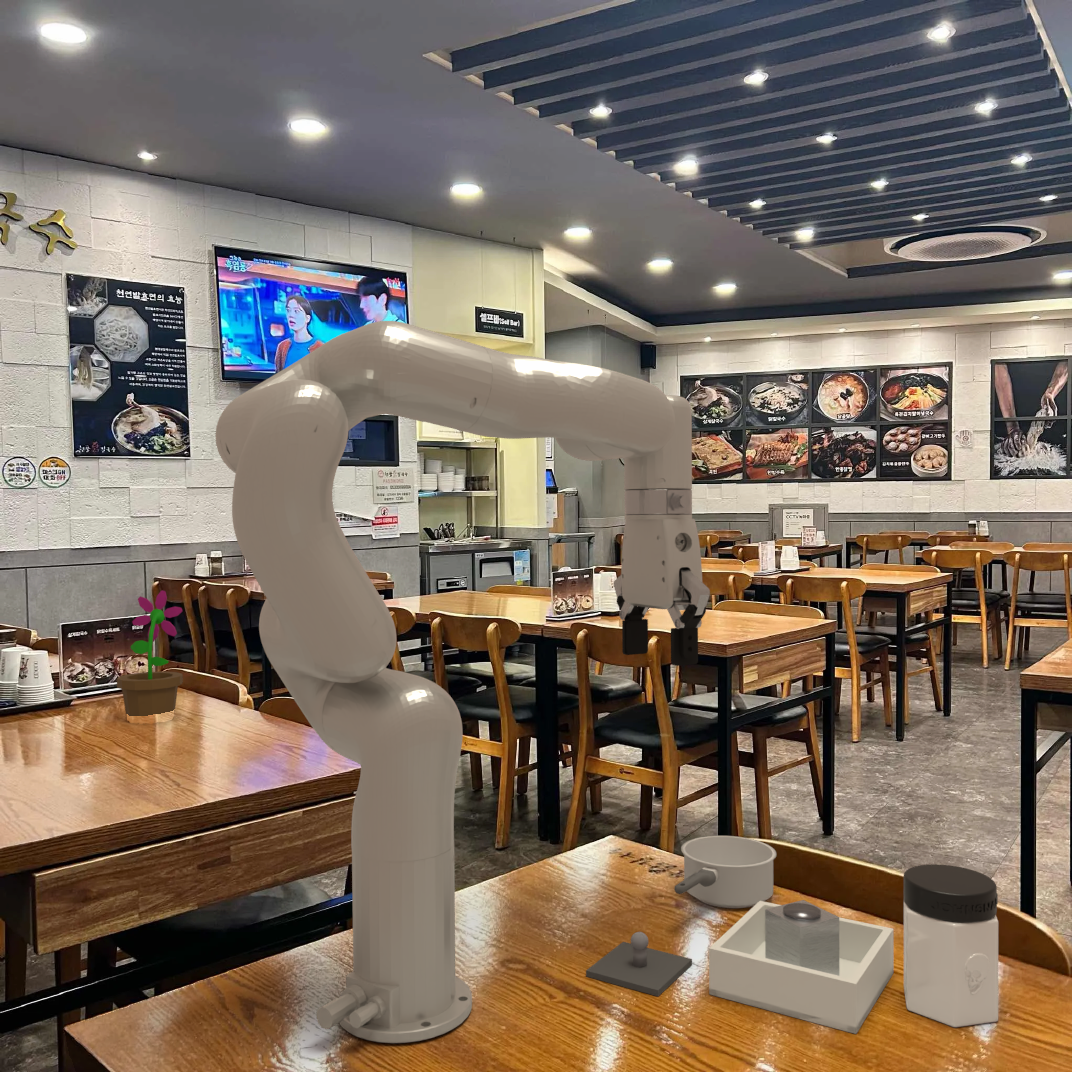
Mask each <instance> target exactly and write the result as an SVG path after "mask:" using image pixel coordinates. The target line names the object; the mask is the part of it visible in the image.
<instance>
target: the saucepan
mask: <svg viewBox="0 0 1072 1072" xmlns="http://www.w3.org/2000/svg"><path fill="white" fill-rule="evenodd" d="M680 851H681V852H682V854H683V856H684V857H683V864H684V865H683V876H684V877H683V878H684V879H683V880H682V881H679V883H677V884H676V885H674V888H673V889H674V892H675V893H676V894H678V895H682V894H684V893H688V894H690V895H691V896H693V897H694V898H695V899H697V900H698V901H700V902H702V903H704V904H706V905H710V906H713V907H718V908H725V909H743V908H750V907H754V906H755V905H756V904H757V903H758V902H759V901H764V902H766V900H768V899H770V898H771V897H772V896H773V895H774V860H775V859H776V857H777V851H776V850H775V848H773V847H772V846H771V845H769V844H768V843H764V842H763V841H760V840H757V839H753V838H749V837H748V838H747V837H742V836H736V835H735V836H734V835H708V836H707V835H706V836H700V837H695V838H692V839H689V840H687V841H685V842H684V843H682V844H681V847H680Z"/></svg>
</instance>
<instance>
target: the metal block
mask: <svg viewBox="0 0 1072 1072" xmlns="http://www.w3.org/2000/svg"><path fill="white" fill-rule="evenodd" d="M779 905H780V906H776V907H772V908H768V909H765V958H767V959H772V960H776V961H780V962H784V963H788V964H792V965H796V966H800V967H805V968H809V969H813V970H817V971H821V972H825V973H829V974H834V975H838V976H839V916H838V915H836V914H834V913H831V912H830V911H827V910H825V909H823V908H821V907H819V906H817V905H814V904H813V903H811V902H809V901H806V900H805V899H802V900H797V901H794V902H789V903H785V904H779Z"/></svg>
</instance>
